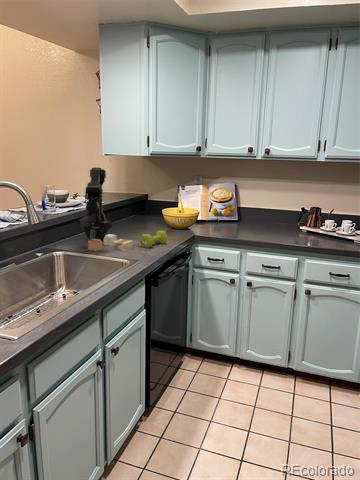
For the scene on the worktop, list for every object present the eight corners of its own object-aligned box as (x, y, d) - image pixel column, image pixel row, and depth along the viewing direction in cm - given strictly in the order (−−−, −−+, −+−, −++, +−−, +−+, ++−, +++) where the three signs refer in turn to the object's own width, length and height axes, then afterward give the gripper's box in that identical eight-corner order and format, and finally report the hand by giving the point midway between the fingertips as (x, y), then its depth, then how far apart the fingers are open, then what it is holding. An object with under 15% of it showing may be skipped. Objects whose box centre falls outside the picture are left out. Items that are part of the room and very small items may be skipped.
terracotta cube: (88, 249, 199) (88, 240, 198) (95, 247, 203) (94, 238, 202) (95, 251, 197) (95, 241, 195) (102, 249, 201) (102, 239, 200)
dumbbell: (149, 249, 203) (149, 236, 201) (138, 246, 207) (138, 233, 206) (168, 243, 216) (169, 231, 214) (157, 241, 220) (158, 229, 219)
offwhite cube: (103, 244, 210) (103, 235, 209) (109, 242, 215) (109, 234, 213) (110, 245, 208) (110, 236, 207) (116, 244, 212) (116, 235, 211)
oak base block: (111, 249, 202) (111, 241, 201) (120, 246, 209) (120, 238, 208) (124, 251, 198) (124, 243, 197) (133, 248, 205) (133, 240, 204)
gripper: (69, 209, 193) (70, 240, 196) (97, 213, 184) (98, 245, 187) (84, 207, 202) (85, 236, 206) (112, 210, 193) (113, 240, 197)
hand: (95, 239), depth 199 cm, fingers open, 9 cm apart
